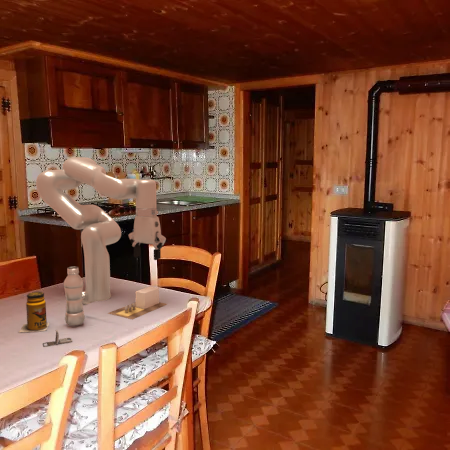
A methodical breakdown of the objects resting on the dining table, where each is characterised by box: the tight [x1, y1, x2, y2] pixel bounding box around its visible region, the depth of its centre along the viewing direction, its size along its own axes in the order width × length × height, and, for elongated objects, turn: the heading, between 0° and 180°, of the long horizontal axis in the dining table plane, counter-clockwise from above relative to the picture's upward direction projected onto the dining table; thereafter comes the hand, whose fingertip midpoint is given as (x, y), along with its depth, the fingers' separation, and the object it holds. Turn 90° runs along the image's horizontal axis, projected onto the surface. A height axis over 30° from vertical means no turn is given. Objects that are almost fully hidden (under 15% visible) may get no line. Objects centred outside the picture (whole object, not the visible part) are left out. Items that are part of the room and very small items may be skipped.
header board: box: [107, 301, 168, 321], centre depth 164 cm, size 20×12×4 cm, turn 149°
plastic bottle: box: [63, 266, 86, 327], centre depth 150 cm, size 6×7×20 cm
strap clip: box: [42, 329, 73, 348], centre depth 135 cm, size 8×3×4 cm, turn 117°
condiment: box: [18, 291, 50, 333], centre depth 147 cm, size 7×8×12 cm
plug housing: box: [135, 286, 160, 309], centre depth 168 cm, size 8×4×6 cm, turn 149°
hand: (147, 257), depth 166 cm, fingers open, 9 cm apart
